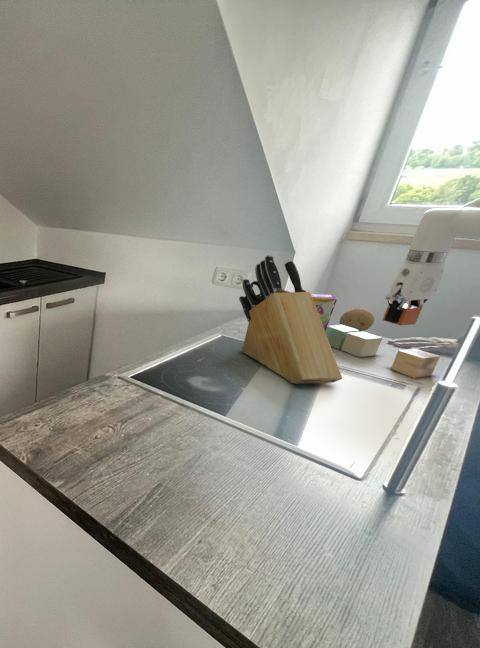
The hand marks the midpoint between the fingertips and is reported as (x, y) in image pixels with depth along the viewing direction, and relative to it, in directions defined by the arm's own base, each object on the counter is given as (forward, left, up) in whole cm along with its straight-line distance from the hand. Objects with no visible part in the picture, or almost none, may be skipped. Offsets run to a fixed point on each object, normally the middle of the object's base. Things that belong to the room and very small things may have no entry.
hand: (399, 320), depth 113 cm
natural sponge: (-13, -21, -14) cm, 28 cm away
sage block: (0, -14, -13) cm, 20 cm away
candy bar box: (+9, -20, -14) cm, 26 cm away
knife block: (+31, -7, -14) cm, 35 cm away
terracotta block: (0, 0, -1) cm, 1 cm away
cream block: (0, -7, -13) cm, 15 cm away
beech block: (0, +8, -13) cm, 15 cm away
